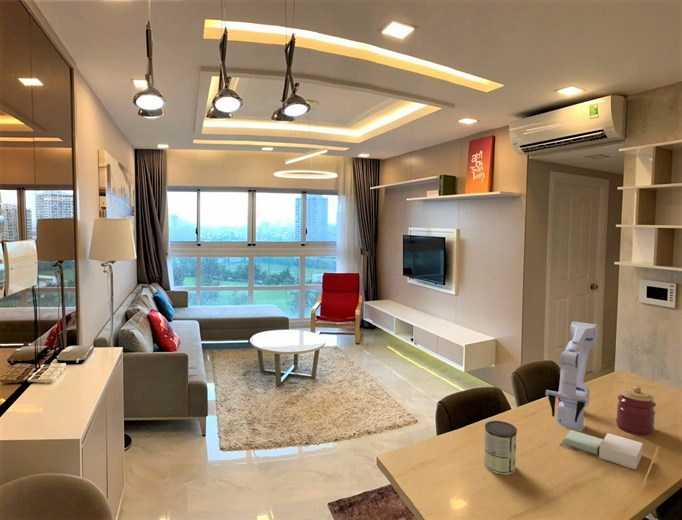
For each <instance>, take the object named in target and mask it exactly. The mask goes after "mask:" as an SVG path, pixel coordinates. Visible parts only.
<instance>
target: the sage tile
mask: <svg viewBox="0 0 682 520" xmlns="http://www.w3.org/2000/svg"><path fill="white" fill-rule="evenodd" d="M603 439H604V438H599V437H597V436H593V435H589V434H586V433H583V432H581V431H577V430H574V429H571V430H569V432H568V433H567V434H566V436H565V437H564V438H563V440H564V444H566V445H569V446H572V447H575V448H578V449H581V450H584V451H587V452H591V453H594V454H598V452H599V448H600V444H601V443H602V441H603Z"/></svg>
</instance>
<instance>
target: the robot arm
mask: <svg viewBox="0 0 682 520" xmlns="http://www.w3.org/2000/svg"><path fill="white" fill-rule="evenodd" d="M570 336H571V337H570V338H571V340H569V341H568V342H567V345H566V348H565V350H564V351H563V350H562V351H561V353H560V357H559V363H560V365H559V369H561V374H560V373H559V375H560V376H559V377H560V378H559V386H558V391H555V390H549V389H546V390H545V396H548V398H547V399H548V401H549V405H550V407H551V408H550V409H551V416H552V417H555V414H556V425H557V426H560V427H565V428H567V429H571V430H573V431H577V432H582V431H583V430H584V429H585V427H586V426H587V424H586V423H584V419H585V408H587V407H588V406H589V403H590V389H589V387H588V386H587V385H586V384H585V383H584V380H585V375H586V370H587V369H586V368H587V364H588V359H589V353H590V350H591V348H592V347H594V346H596V344H597V342H598V337H599V325H598V324H597V323H589V322H580V321H575V320H574V321H572V322H571V324H570ZM557 398H560V399H561V401H562V402H559V404H558V403H557V412H556V408H555V407H556V399H557Z"/></svg>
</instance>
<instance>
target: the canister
mask: <svg viewBox="0 0 682 520" xmlns="http://www.w3.org/2000/svg"><path fill="white" fill-rule="evenodd" d="M619 393H620V394H618V396H617V399H618V403H617V404H616V407H617V408H616V409H617V411H616V418H615V423H616V426H617V427H618V428H619V429H621V430H623V431H624V432H627V433H630V434H633V435H637V436H651V435H653V434H654V431H655V418H656V417H655V415H656V410H655V407H656V406H657V403H656V401H654V400H655V397H654V396H653V395H652V394H650V393H649V392H648V391H645V390H643V389H641V387H640V386H638V385H637V386H634V387H632V388H630V387H628V388H624V389H622V390H620V391H619Z"/></svg>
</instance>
